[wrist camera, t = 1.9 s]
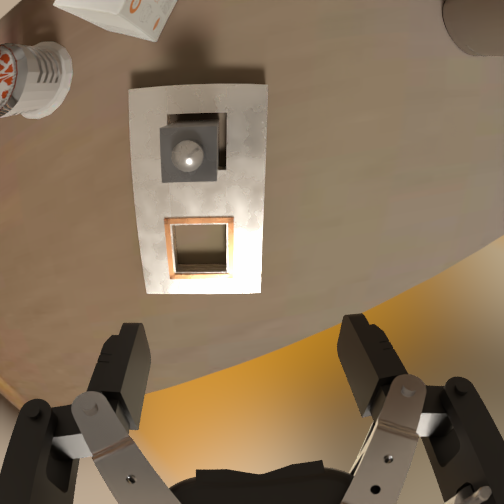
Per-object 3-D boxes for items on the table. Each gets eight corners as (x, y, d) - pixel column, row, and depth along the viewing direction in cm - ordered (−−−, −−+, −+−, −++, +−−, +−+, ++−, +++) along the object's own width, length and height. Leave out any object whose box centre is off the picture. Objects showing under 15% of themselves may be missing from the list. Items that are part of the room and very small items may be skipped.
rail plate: (133, 89, 29) (128, 89, 27) (265, 85, 30) (268, 84, 28) (149, 285, 40) (146, 294, 38) (258, 283, 41) (260, 293, 39)
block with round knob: (177, 120, 31) (157, 129, 22) (219, 119, 32) (216, 126, 22) (178, 160, 33) (159, 185, 24) (218, 159, 34) (216, 183, 24)
